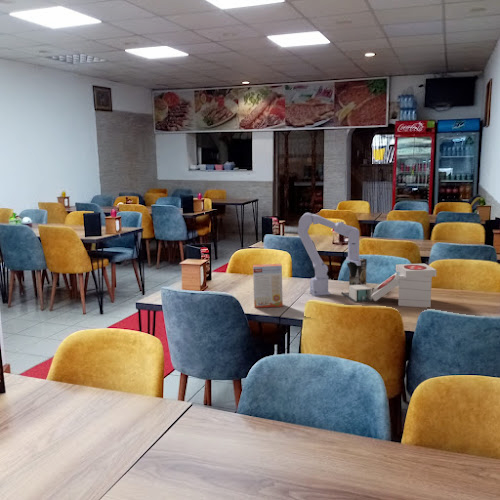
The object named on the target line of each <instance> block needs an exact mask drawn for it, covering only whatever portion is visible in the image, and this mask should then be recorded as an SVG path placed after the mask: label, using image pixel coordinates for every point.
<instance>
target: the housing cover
mask: <svg viewBox="0 0 500 500" xmlns="http://www.w3.org/2000/svg"><path fill="white" fill-rule="evenodd" d="M348 285H349V284H348ZM357 290H366V294H368V297H367V298H368V299H370V300H372V297H371V295H372V292H373V288H372V287H371V286H369V285H367V283H366V284H362V285H349V286H348V292H349V297H351V298H352V299H354V300H355V301H357Z"/></svg>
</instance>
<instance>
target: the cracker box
mask: <svg viewBox="0 0 500 500" xmlns="http://www.w3.org/2000/svg"><path fill="white" fill-rule="evenodd" d="M252 275H253V277H252V279H253V282H252V283H253V305H254V308H255V309H257V308H259V309H260V308H261V309H262V308H282V307H283V306H284V305H283V300H284V299H283V266H282V264H281V263H263V264H262V263H261V264H253V265H252Z"/></svg>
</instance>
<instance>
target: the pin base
mask: <svg viewBox="0 0 500 500" xmlns="http://www.w3.org/2000/svg"><path fill="white" fill-rule="evenodd" d="M340 294H341V295H343V296H344V297H345V298H347V299H349V300H350V301H351V302H353V303H361V302H362V303H363V302H373V301H374V299H373V298H372V300H370V299H368V298H367V297H368V294H366V299H364V296H362V300H358V299H357V301H355V300H354V299H352V298H351V297H349V291H348V292H343V291H341V292H340Z"/></svg>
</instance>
